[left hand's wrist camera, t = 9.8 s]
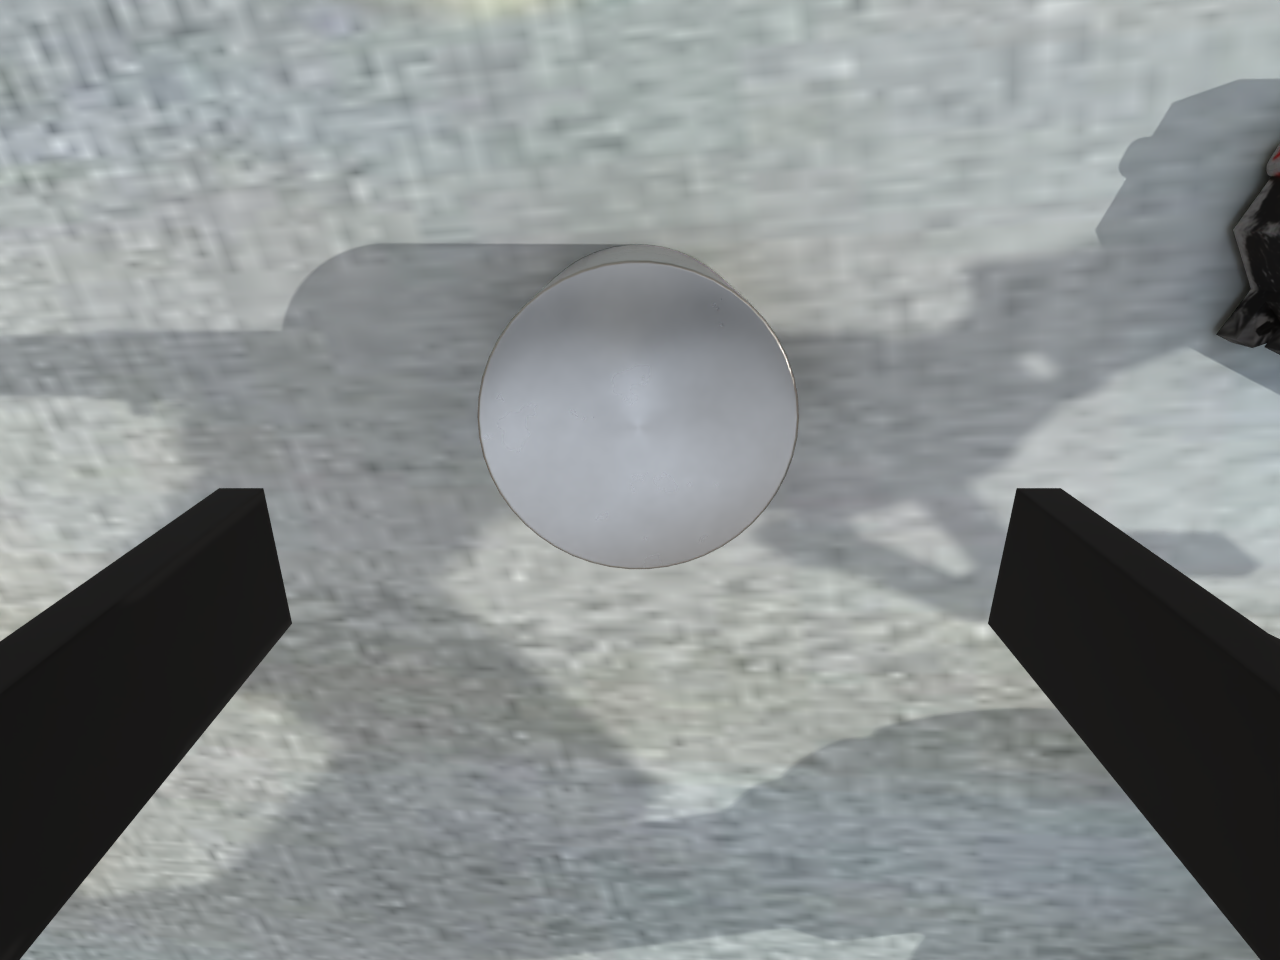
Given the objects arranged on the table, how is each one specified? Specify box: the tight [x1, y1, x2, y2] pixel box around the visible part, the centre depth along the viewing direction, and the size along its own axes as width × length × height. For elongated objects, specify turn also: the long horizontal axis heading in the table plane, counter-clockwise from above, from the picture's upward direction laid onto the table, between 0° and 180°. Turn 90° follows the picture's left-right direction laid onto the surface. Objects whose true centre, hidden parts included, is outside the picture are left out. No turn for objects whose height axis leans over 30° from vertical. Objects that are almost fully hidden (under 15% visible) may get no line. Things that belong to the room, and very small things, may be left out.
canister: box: [478, 245, 799, 569], centre depth 24 cm, size 9×9×8 cm
